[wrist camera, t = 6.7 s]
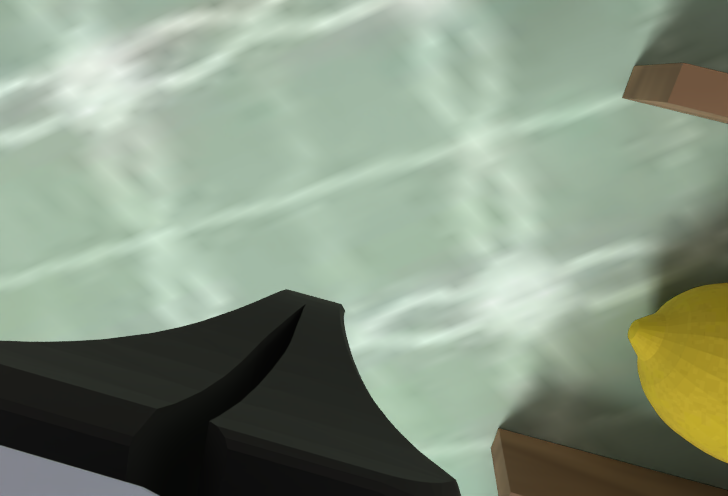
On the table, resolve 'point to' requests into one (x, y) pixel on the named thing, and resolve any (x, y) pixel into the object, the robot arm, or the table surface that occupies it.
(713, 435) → the lemon
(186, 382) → the robot arm
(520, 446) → the frame
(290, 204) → the table surface
